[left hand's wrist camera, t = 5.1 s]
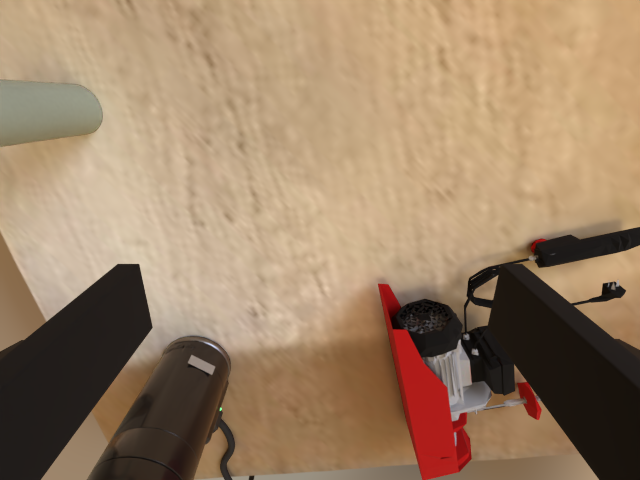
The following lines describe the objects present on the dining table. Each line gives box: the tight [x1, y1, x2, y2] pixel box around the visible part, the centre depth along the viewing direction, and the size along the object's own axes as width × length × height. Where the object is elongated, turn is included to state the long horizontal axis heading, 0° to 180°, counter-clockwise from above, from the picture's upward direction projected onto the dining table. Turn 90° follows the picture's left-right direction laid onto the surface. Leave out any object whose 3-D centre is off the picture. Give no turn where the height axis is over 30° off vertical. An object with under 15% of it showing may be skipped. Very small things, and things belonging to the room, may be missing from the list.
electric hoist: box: [378, 227, 640, 480], centre depth 43 cm, size 10×27×30 cm
